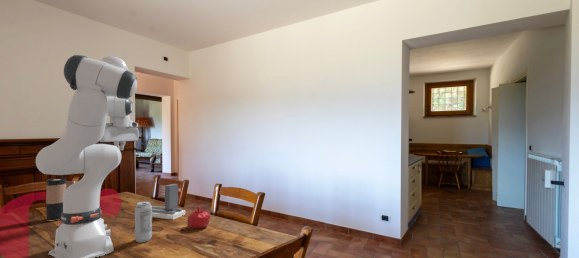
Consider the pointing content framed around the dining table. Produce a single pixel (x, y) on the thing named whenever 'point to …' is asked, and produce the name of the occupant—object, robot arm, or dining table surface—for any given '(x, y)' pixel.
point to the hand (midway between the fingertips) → (119, 150)
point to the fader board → (166, 213)
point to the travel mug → (55, 198)
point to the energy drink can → (143, 222)
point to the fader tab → (171, 197)
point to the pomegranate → (198, 219)
